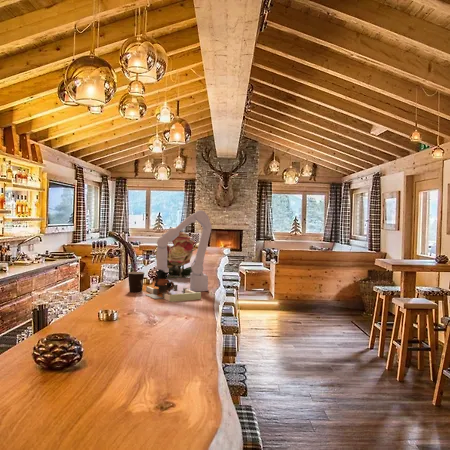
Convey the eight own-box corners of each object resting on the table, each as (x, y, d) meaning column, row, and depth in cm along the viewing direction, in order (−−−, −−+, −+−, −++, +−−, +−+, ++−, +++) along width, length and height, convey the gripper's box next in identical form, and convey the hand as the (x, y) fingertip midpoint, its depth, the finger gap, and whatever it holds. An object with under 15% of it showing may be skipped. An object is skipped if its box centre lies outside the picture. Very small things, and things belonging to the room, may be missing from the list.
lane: (178, 288, 248) (178, 282, 248) (205, 298, 222) (205, 292, 221) (137, 291, 236) (137, 285, 236) (161, 302, 209) (161, 295, 209)
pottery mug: (150, 294, 231) (150, 279, 235) (159, 299, 239) (159, 285, 243) (170, 290, 227) (170, 275, 231) (179, 295, 235) (179, 281, 239)
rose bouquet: (151, 273, 305) (153, 230, 304) (193, 273, 314) (194, 230, 313) (157, 279, 281) (159, 231, 280) (202, 278, 290) (203, 232, 289)
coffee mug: (135, 293, 230) (135, 274, 229) (124, 291, 235) (124, 272, 234) (151, 290, 239) (152, 272, 238) (140, 288, 244) (141, 270, 244)
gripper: (150, 257, 245) (149, 282, 246) (160, 260, 233) (159, 286, 233) (161, 257, 249) (161, 281, 249) (172, 260, 236) (172, 285, 237)
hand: (161, 284), depth 241 cm, fingers closed
